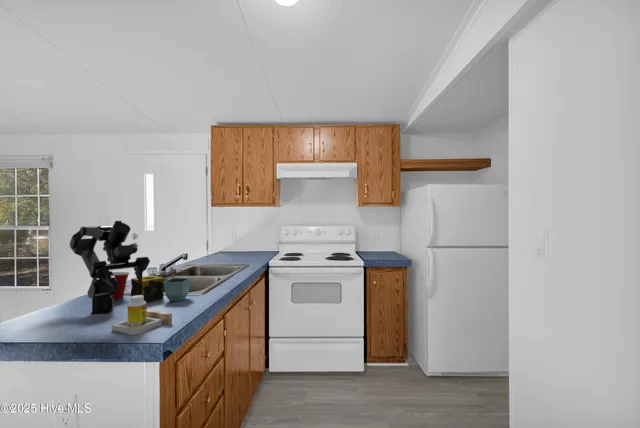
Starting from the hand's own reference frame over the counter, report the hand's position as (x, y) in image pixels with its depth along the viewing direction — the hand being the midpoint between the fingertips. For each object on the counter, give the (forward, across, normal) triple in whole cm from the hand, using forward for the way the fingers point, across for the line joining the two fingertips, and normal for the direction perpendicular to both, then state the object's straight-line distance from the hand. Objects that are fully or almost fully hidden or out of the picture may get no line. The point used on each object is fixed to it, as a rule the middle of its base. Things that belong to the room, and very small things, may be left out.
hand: (127, 284), depth 120 cm
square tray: (+16, 0, +3) cm, 16 cm away
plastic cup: (-20, +11, +39) cm, 45 cm away
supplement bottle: (+15, 0, +3) cm, 16 cm away
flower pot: (-2, +27, +21) cm, 35 cm away
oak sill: (+14, +7, +5) cm, 17 cm away
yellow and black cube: (-10, +19, +29) cm, 36 cm away
